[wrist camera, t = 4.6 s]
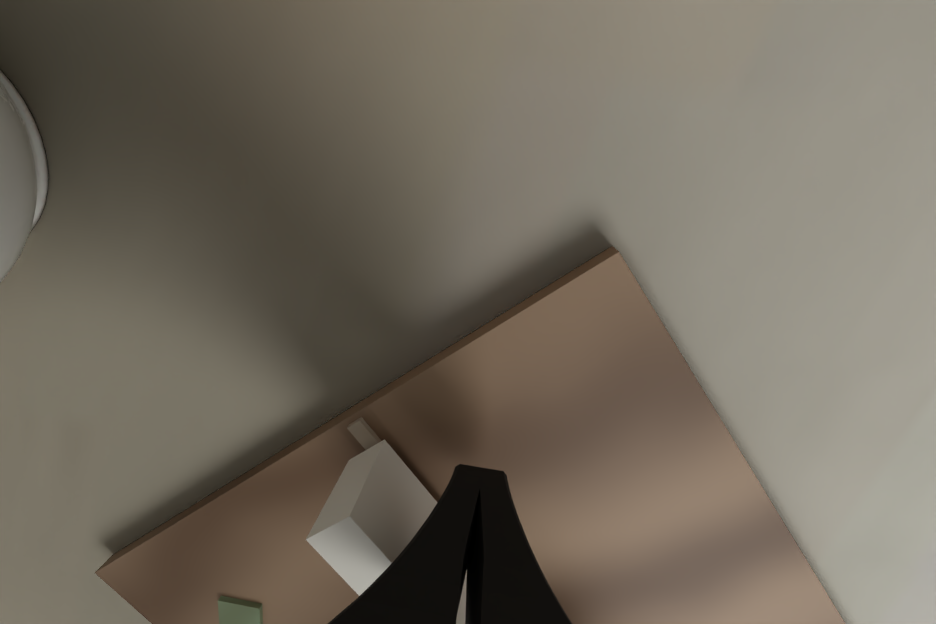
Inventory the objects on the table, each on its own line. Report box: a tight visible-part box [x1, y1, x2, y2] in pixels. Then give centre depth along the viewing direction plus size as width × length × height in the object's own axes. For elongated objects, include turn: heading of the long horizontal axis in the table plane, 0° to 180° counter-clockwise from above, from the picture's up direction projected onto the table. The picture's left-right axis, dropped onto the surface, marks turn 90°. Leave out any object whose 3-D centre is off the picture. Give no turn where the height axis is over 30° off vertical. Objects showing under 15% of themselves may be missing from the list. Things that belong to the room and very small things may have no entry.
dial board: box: [95, 246, 845, 624], centre depth 16 cm, size 18×22×1 cm
